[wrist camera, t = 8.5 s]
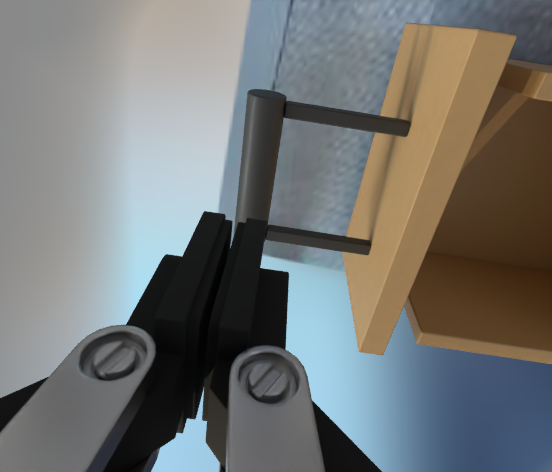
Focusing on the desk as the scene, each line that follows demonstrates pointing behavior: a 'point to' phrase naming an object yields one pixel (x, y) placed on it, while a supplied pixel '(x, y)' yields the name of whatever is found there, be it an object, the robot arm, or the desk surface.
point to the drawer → (437, 195)
